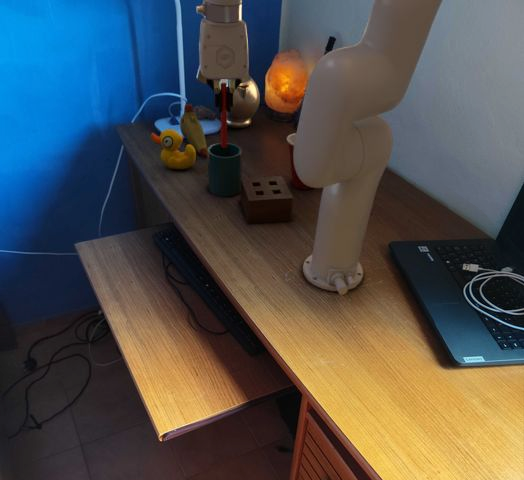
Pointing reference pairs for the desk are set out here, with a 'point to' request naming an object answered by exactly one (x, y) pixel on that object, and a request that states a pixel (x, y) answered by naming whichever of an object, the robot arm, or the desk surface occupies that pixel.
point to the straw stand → (266, 199)
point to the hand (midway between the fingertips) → (223, 109)
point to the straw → (224, 116)
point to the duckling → (174, 150)
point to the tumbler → (224, 169)
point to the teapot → (243, 104)
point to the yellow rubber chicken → (193, 130)
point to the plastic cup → (295, 178)
